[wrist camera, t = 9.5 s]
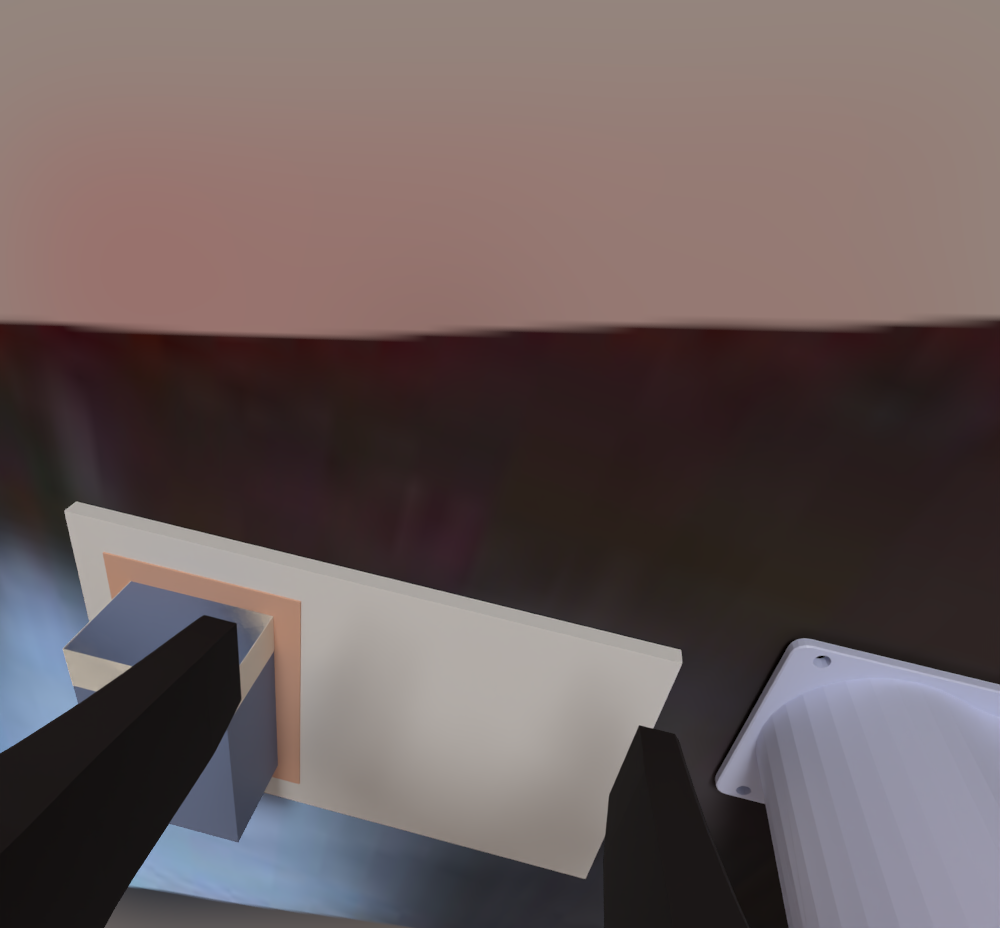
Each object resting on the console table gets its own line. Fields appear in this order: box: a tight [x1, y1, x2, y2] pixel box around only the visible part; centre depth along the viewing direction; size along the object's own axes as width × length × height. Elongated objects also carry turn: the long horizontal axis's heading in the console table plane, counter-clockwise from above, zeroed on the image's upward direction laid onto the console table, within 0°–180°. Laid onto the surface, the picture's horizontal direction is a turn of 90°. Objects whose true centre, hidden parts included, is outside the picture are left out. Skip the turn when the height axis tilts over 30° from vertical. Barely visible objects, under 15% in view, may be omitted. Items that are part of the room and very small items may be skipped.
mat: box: [64, 502, 682, 879], centre depth 26 cm, size 22×14×1 cm, turn 80°
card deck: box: [63, 581, 278, 842], centre depth 25 cm, size 9×6×3 cm, turn 170°
